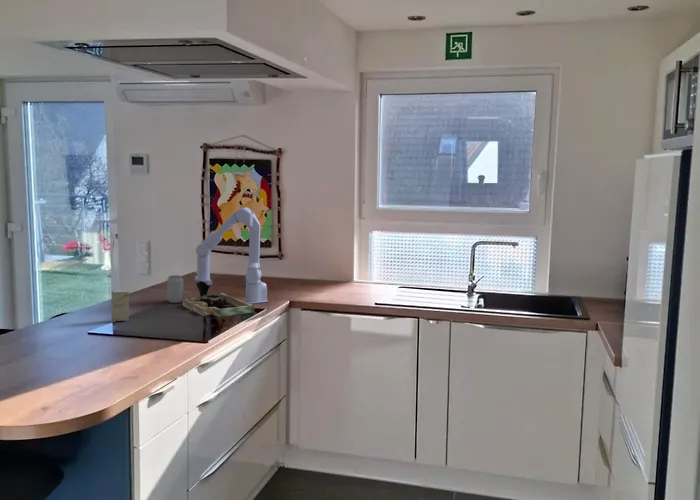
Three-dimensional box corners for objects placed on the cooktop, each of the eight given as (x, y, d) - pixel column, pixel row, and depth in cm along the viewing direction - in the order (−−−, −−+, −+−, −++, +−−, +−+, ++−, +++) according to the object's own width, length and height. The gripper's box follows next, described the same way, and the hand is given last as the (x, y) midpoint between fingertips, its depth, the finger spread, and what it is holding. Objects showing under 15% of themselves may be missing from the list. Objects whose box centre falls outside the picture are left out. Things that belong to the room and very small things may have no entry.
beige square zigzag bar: (222, 299, 298) (222, 292, 297) (254, 312, 273) (254, 305, 273) (178, 303, 285) (178, 297, 284) (207, 318, 260) (207, 311, 260)
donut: (194, 305, 283) (194, 297, 282) (209, 301, 294) (209, 292, 293) (216, 308, 279) (216, 299, 278) (231, 303, 290) (231, 295, 289)
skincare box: (112, 322, 248) (112, 292, 247) (111, 320, 252) (110, 290, 251) (129, 321, 251) (129, 291, 250) (127, 318, 255) (127, 289, 254)
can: (179, 304, 285) (179, 277, 283) (164, 302, 286) (163, 276, 285) (186, 300, 292) (186, 275, 290) (171, 299, 293) (171, 274, 292)
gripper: (189, 267, 296) (189, 295, 298) (201, 272, 285) (201, 301, 286) (203, 266, 300) (203, 294, 302) (216, 271, 289) (216, 300, 290)
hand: (203, 297), depth 294 cm, fingers closed
